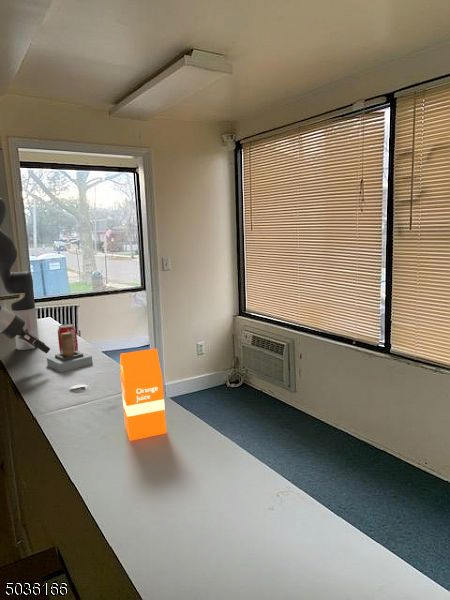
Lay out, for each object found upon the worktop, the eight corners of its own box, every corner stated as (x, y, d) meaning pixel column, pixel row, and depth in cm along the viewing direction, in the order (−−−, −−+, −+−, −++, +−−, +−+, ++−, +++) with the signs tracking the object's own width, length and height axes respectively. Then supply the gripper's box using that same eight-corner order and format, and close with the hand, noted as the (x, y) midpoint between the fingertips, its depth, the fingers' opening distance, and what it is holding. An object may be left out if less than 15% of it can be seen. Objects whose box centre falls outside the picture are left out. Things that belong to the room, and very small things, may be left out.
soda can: (66, 357, 169) (63, 328, 167) (56, 355, 173) (53, 326, 171) (82, 353, 175) (79, 324, 173) (72, 350, 179) (69, 322, 177)
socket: (47, 365, 160) (46, 355, 160) (78, 357, 168) (77, 348, 168) (61, 372, 152) (59, 361, 151) (92, 363, 160) (91, 353, 159)
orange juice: (125, 427, 107) (117, 349, 103) (160, 420, 110) (154, 344, 106) (129, 441, 99) (122, 358, 96) (167, 433, 102) (160, 352, 99)
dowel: (62, 365, 160) (58, 333, 158) (72, 362, 163) (69, 331, 161) (66, 367, 157) (63, 335, 155) (77, 364, 160) (74, 333, 158)
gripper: (17, 316, 141) (57, 343, 150) (10, 311, 153) (48, 336, 161) (1, 335, 139) (43, 361, 147) (-4, 328, 151) (34, 353, 159)
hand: (45, 348), depth 154 cm, fingers open, 8 cm apart
